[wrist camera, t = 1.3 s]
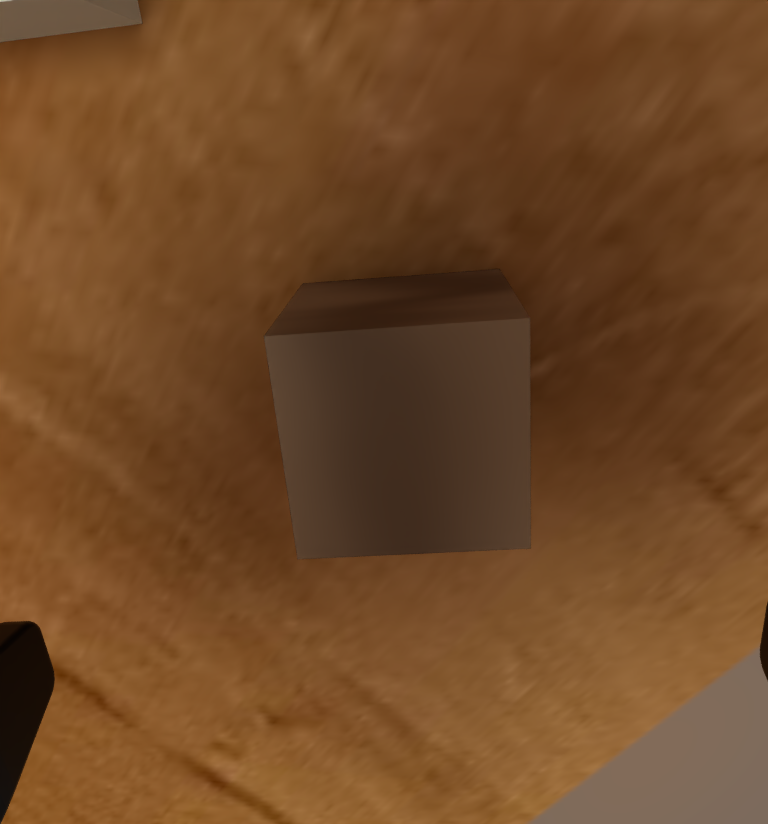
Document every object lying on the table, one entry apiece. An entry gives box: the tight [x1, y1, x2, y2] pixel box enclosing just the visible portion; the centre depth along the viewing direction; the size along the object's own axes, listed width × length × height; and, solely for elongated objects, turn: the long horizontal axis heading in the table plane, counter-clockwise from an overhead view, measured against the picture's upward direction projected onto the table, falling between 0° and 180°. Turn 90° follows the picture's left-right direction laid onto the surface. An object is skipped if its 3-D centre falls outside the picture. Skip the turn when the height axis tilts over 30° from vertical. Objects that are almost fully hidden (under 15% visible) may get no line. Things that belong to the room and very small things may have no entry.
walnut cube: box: [264, 269, 531, 559], centre depth 16 cm, size 5×5×5 cm
